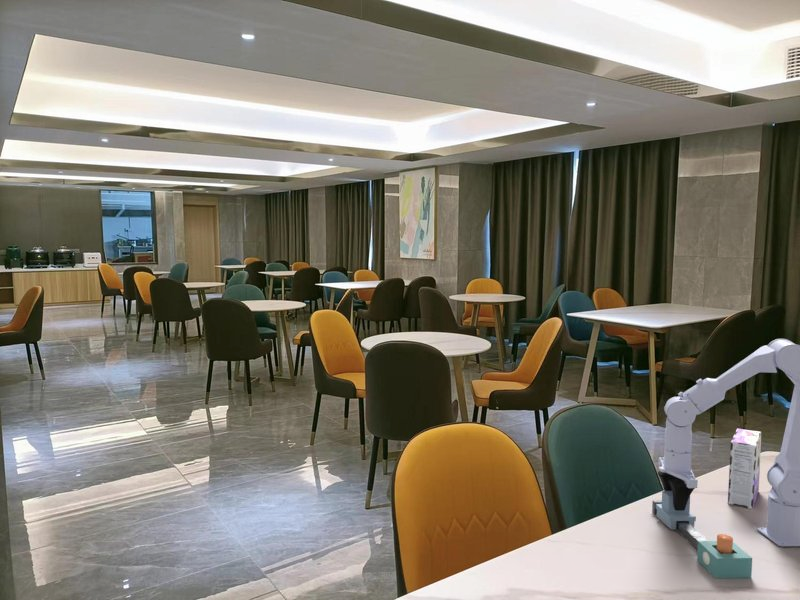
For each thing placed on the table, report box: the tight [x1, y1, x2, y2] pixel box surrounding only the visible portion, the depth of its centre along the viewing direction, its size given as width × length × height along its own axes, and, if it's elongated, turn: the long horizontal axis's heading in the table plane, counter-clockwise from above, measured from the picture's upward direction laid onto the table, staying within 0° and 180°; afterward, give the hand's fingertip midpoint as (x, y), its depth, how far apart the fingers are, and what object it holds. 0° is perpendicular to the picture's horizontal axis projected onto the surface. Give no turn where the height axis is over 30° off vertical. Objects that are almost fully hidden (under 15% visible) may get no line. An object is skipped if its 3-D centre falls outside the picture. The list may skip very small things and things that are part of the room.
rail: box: [651, 499, 710, 551], centre depth 136 cm, size 5×21×3 cm, turn 2°
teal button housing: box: [696, 540, 753, 579], centre depth 121 cm, size 7×7×4 cm
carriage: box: [656, 490, 697, 531], centre depth 140 cm, size 6×7×7 cm
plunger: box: [716, 533, 734, 554], centre depth 121 cm, size 3×3×4 cm
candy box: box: [727, 427, 762, 510], centre depth 155 cm, size 14×6×16 cm, turn 144°
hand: (675, 506), depth 140 cm, fingers closed on carriage, 3 cm apart
